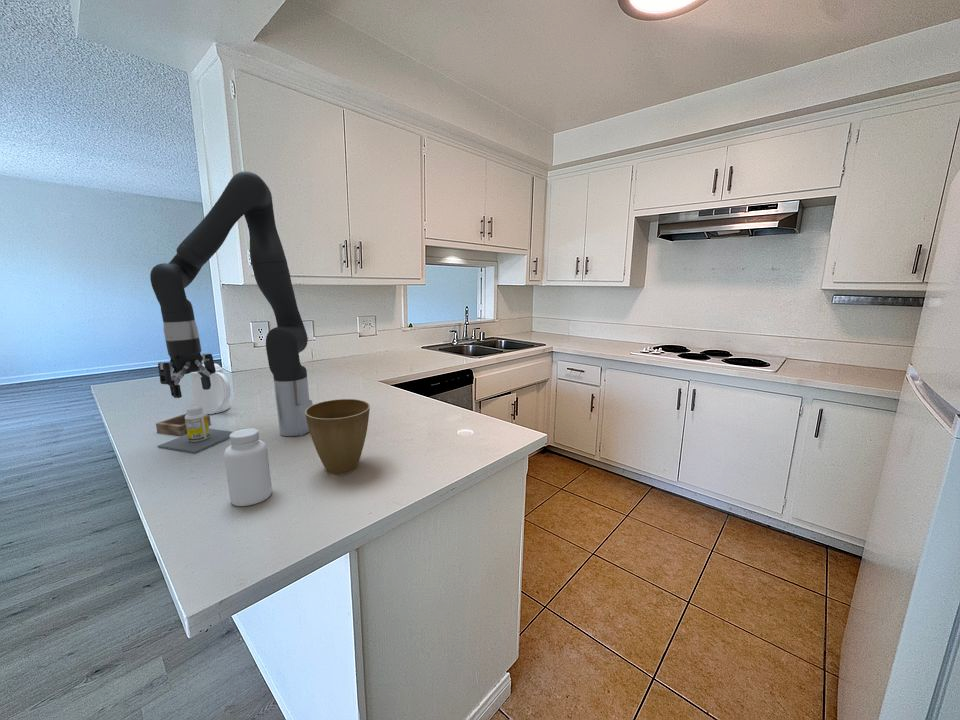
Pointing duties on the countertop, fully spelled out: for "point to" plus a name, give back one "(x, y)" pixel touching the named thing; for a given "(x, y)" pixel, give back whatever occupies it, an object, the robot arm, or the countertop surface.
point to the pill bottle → (247, 468)
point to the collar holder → (175, 426)
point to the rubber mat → (196, 447)
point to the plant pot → (338, 432)
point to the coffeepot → (211, 392)
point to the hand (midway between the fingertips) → (192, 393)
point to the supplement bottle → (196, 424)
